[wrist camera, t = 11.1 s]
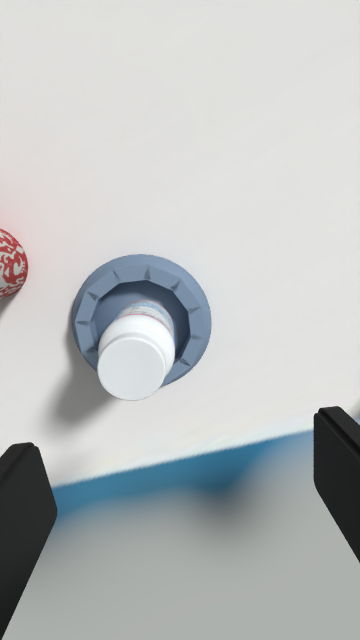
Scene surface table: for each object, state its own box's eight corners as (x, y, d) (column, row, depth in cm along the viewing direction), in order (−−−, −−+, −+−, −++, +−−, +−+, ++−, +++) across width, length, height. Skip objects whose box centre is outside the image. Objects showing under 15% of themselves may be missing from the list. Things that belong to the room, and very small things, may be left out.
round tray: (203, 246, 28) (207, 245, 25) (214, 375, 31) (219, 387, 29) (62, 263, 27) (49, 264, 25) (90, 390, 31) (82, 404, 28)
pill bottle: (144, 362, 29) (130, 427, 19) (105, 323, 28) (65, 368, 17) (185, 327, 29) (195, 374, 18) (146, 286, 27) (132, 308, 16)
